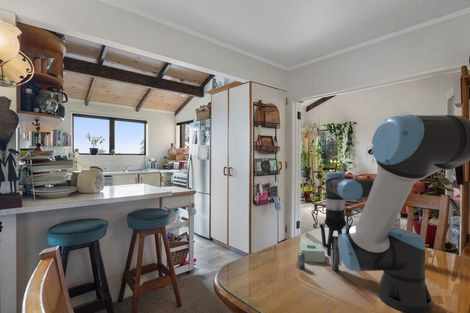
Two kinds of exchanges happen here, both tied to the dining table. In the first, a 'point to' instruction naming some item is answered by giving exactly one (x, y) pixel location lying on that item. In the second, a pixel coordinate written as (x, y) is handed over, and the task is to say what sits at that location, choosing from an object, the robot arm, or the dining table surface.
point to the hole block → (312, 252)
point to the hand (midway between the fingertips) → (335, 263)
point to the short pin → (301, 260)
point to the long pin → (335, 253)
